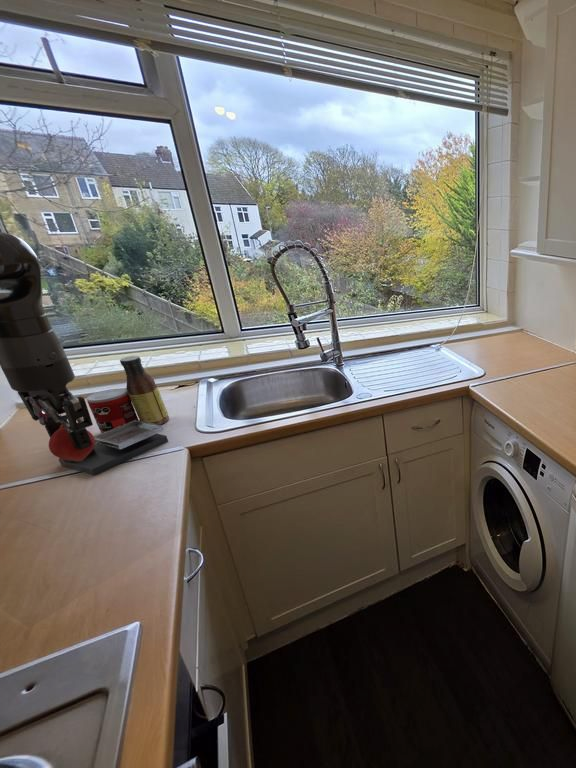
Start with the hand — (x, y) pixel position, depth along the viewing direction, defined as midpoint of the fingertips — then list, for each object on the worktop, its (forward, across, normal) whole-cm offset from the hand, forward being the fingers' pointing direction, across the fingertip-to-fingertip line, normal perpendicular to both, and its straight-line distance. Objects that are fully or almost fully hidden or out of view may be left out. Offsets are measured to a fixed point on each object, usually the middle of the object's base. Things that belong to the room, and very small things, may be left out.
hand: (72, 443), depth 75 cm
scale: (+17, -23, +15) cm, 32 cm away
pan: (+13, -22, +18) cm, 32 cm away
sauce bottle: (+17, -31, +29) cm, 46 cm away
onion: (+4, 0, 0) cm, 4 cm away
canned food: (+17, -35, +23) cm, 45 cm away
